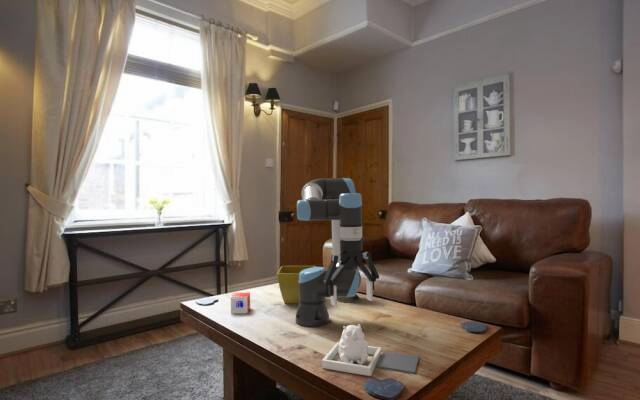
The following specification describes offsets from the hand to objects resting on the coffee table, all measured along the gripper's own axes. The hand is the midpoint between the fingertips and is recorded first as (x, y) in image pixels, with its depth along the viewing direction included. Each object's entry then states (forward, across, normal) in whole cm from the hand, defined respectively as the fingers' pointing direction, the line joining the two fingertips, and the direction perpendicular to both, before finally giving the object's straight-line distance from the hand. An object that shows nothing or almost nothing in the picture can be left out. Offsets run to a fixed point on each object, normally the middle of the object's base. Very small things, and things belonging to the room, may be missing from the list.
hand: (352, 302), depth 121 cm
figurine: (+20, 0, 0) cm, 20 cm away
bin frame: (+20, 0, 0) cm, 20 cm away
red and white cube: (+20, -23, +72) cm, 78 cm away
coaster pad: (+20, +13, -7) cm, 25 cm away
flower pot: (+20, +8, +76) cm, 79 cm away
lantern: (+20, +33, +66) cm, 76 cm away
